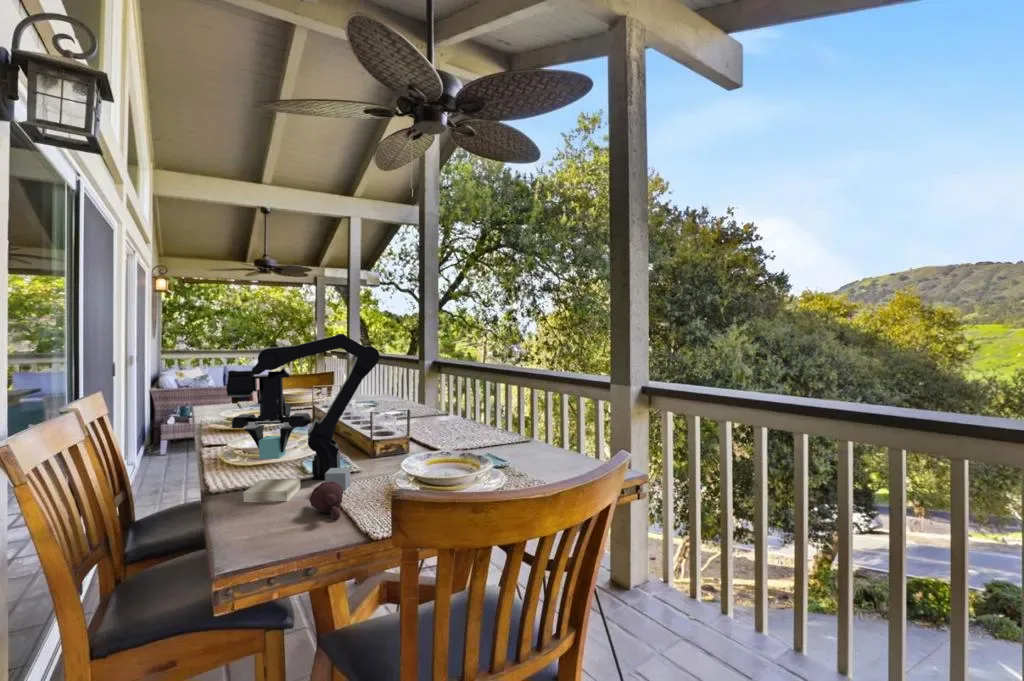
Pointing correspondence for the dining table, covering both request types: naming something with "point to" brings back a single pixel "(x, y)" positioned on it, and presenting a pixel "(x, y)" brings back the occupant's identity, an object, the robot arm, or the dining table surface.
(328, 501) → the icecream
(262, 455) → the teal cube
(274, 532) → the dining table surface
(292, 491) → the birch block
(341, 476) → the light grey cube
